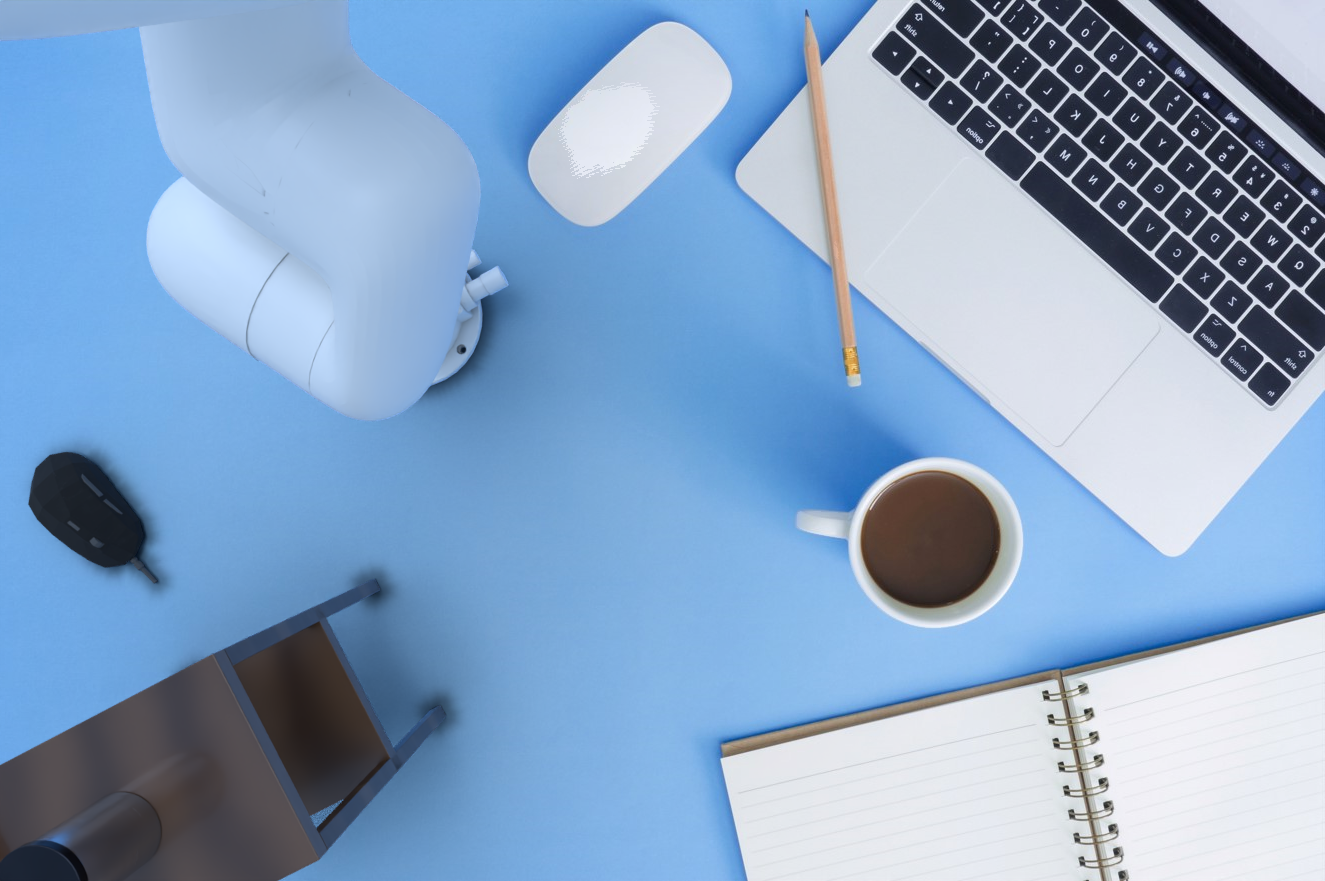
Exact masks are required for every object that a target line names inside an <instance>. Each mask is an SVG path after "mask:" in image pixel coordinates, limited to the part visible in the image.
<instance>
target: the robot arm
mask: <svg viewBox="0 0 1325 881" xmlns="http://www.w3.org/2000/svg"><path fill="white" fill-rule="evenodd" d="M135 28H138V30H139V37H140V44H141V50H142V56H143V60H144V67H145V73H146V79H147V86H148V90H149V96H150V102H151V108H152V113H153V117H154V121H155V126H156V130H157V133H158V137H159V140H160V143H161V146H162V148H163V150H164V152H165V154H166V156H167V158H168V159H169V161H170V163H171V164H172V165H173V166H174V168H175V169H176V170H177V171H178V172H179V173H180V174H181V175H182V176H181V177H179V178H178V179H176V180H175V181H174V182H173V183H171V185H169V186H168V187H167V189H165V190H164V192H163V193H162V194H161V196H160V197H159V198H158V200H157V202H156V203H155V205H154V207H153V209H152V211H151V213H150V216H149V219H148V223H147V227H146V228H147V229H146V238H145V244H146V254H147V256H148V257H147V258H148V262H149V265H150V267H151V270H152V272H153V274H154V275H155V279H157V282H158V284H160V285H161V287H162V288H163V289H164V291H165V292H166V293H167V295H168V296H169V297H170V298H171V299H172V300H173V301H174V302H175V303H176V304H177V305H178V306H180V307H181V308H182V309H183V310H185V312H187V314H189V315H191V316H192V317H193V318H195V319H196V320H198V322H200V323H202V325H204V326H206V327H207V328H209V329H210V330H211V331H213V332H214V333H216V334H217V335H218V336H220V337H222V338H223V339H225V340H226V341H228V342H229V343H231V344H232V345H233V346H236V348H238V349H239V350H240V351H242V352H244V353H245V354H247V355H248V356H249V357H251V358H253V359H254V360H255V361H258V362H260V363H261V364H263V365H265V367H267V368H269V369H270V370H272V371H274V372H275V373H276V374H278V375H279V376H280V377H282V378H283V379H285V380H286V381H288V382H290V383H291V384H292V385H294V386H296V387H297V388H299V389H300V390H301V391H303V392H304V393H306V394H307V395H308V396H310V397H311V398H313V399H315V400H316V401H318V402H320V403H321V404H323V405H324V406H326V407H327V408H330V409H331V410H333V411H335V412H336V413H338V414H339V415H342V416H344V417H346V418H349V419H351V420H352V419H353V420H356V421H361V422H379V421H384V420H388V419H391V418H394V417H396V416H398V415H400V414H402V413H403V412H405V411H407V410H408V409H409V408H411V407H412V406H413V405H415V404H416V403H417V402H418V401H419V400H420V399H421V398H422V397H423V396H424V395H425V394H426V392H427V391H428V389H429V388H430V387H431V386H434V385H436V384H439V383H441V382H444V381H447V380H448V379H449V378H451V377H452V376H453V375H456V373H458V372H459V371H460V370H461V369H462V368H463V367H464V366H465V365H466V364H467V362H468V361H469V359H470V358H471V356H472V355H473V353H474V352H475V349H476V347H477V346H478V343H479V340H480V337H481V333H482V329H483V328H482V327H483V307H482V301H481V300H482V299H484V298H486V297H488V296H493V295H495V294H496V293H498V292H500V291H502V290H504V289H505V288H507V287H510V284H509V281H508V279H507V277H506V275H505V274H504V272H503V271H502V269H501V267H500V266H499V265H496V266H494V267H493V268H491V269H489V270H487V271H485V272H483V273H481V274H479V276H478V277H476V278H475V279H472V277H471V276H470V274H469V273H468V271H470V270H472V269H473V268H476V267H478V266H479V265H481V264H482V260H481V257H480V256H479V254H478V253H477V251H476V249H474V248H473V245H474V240H475V236H476V232H477V227H478V222H479V215H480V209H481V201H482V200H481V199H482V186H481V178H480V174H479V170H478V166H477V163H476V160H475V158H474V156H473V154H472V151H471V150H470V148H469V146H468V145H467V143H466V142H465V140H464V139H463V138H462V137H461V136H460V134H458V132H457V131H456V130H454V129H453V127H451V125H449V124H448V123H447V122H446V121H444V120H443V119H442V118H441V117H440V116H438V115H437V114H435V113H434V112H433V111H431V110H429V109H428V108H427V107H426V106H424V105H423V104H422V103H419V102H418V101H417V100H415V99H413V98H412V97H411V96H410V95H407V94H406V93H405V92H404V91H402V90H400V89H399V88H398V87H396V86H395V85H393V84H392V83H390V82H388V81H387V80H386V79H384V78H383V77H381V76H380V75H378V74H377V73H376V72H375V71H374V70H372V68H370V66H368V65H367V63H365V61H364V60H363V59H362V58H361V57H360V55H359V54H358V53H357V51H356V50H355V48H354V45H353V42H352V36H351V28H350V0H0V42H20V41H34V40H35V41H36V40H37V41H38V40H48V39H59V38H67V37H75V36H83V35H91V34H92V35H93V34H98V33H99V34H100V33H107V32H114V31H121V30H122V31H123V30H128V29H135ZM464 348H465V351H464V352H463V351H462V350H463V349H464Z"/></svg>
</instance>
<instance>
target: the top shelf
mask: <svg viewBox="0 0 1325 881" xmlns="http://www.w3.org/2000/svg"><path fill="white" fill-rule="evenodd" d="M117 792H126V793H132V794H135V795H137V796H139V797H141V798H143V799H144V800H146V801H147V802H148V803H149V804H150V805H151V806H152V807H153V809H154V810H155V812H156V814H157V816H158V818H159V821H160V826H161V839H160V843H159V846H158V849H157V851H156V853H155V854H154V855H153V857H152V858H151V859H150V860H149V861H148V862H147V863H146V864H144V865H143V866H142V867H140V868H139V869H138V870H137V871H135V872H134V873H133V874H132V875H130V876H129V877H128V878H126V879H125V880H124V881H280V880H282V879H284V878H287V877H289V876H291V875H293V874H295V873H297V872H299V871H301V870H302V869H305V868H306V867H309V866H311V865H313V864H315V863H317V862H318V861H320V860H321V859H322V858H323V857H324V856H325V854H326V853H327V852H328V850H327V848H326V846H325V844H324V843H323V841H322V839H321V837H320V835H319V833H318V831H317V829H316V828H317V826H316V825H315V823H314V822H313V819H312V816H310V815H309V814H308V812H307V810H306V808H305V806H304V804H303V802H302V800H301V798H300V796H299V794H298V792H297V790H296V788H295V786H294V784H293V783H292V781H291V779H290V777H289V775H288V773H287V771H286V769H285V767H284V765H283V763H282V761H281V759H280V757H279V755H278V753H277V752H276V750H275V748H274V746H273V744H272V742H271V740H270V738H269V736H268V734H267V732H266V730H265V728H264V726H263V724H262V722H261V721H260V719H259V717H258V715H257V713H256V711H255V709H254V707H253V705H252V703H251V701H250V699H249V697H248V695H247V693H246V692H245V690H244V688H243V686H242V684H241V682H240V680H239V678H238V676H237V674H236V672H235V670H234V668H233V666H232V664H231V662H230V661H229V659H228V657H227V655H226V653H225V651H224V648H222V649H220V650H218V651H215V652H214V653H211V654H210V655H207V656H206V657H204V658H202V659H200V660H198V661H196V662H194V663H192V664H191V665H188V666H187V667H184V668H183V669H180V670H179V671H176V672H174V673H173V674H171V675H169V676H167V677H166V678H163V679H162V680H160V681H158V682H156V683H154V684H152V685H150V686H148V687H146V688H145V689H142V690H140V691H139V692H137V693H135V694H132V695H131V696H129V697H127V698H125V699H124V700H121V701H119V702H118V703H116V704H114V705H112V706H110V707H108V708H106V709H104V710H102V711H100V712H98V713H96V714H95V715H93V716H91V717H89V718H87V719H85V720H83V721H81V722H79V723H77V724H76V725H73V726H72V727H69V728H67V729H66V730H64V731H62V732H60V733H59V734H56V735H54V736H52V737H51V738H49V739H46V740H45V741H43V742H41V743H39V744H37V745H35V746H33V747H32V748H30V749H28V750H25V751H24V752H22V753H20V754H18V755H15V756H14V757H13V758H11V759H9V760H7V761H5V762H2V763H1V764H0V862H1V860H2V859H3V858H4V857H5V856H6V855H8V854H9V853H10V852H12V851H13V850H15V849H16V848H18V847H20V846H21V845H23V844H26V843H28V842H31V841H33V840H35V839H36V838H38V837H39V836H41V835H43V834H44V833H46V832H47V831H49V830H51V829H52V828H54V827H56V826H57V825H59V824H60V823H62V822H64V821H65V820H67V819H68V818H70V817H72V816H73V815H75V814H77V813H78V812H80V811H81V810H83V809H85V808H86V807H88V806H89V805H91V804H93V803H94V802H96V801H98V800H99V799H101V798H102V797H104V796H106V795H109V794H112V793H117Z"/></svg>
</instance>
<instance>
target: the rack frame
mask: <svg viewBox="0 0 1325 881" xmlns="http://www.w3.org/2000/svg"><path fill="white" fill-rule="evenodd" d="M380 591H381V587H380V586H379V584H378V582H377V580H376V578H372V579H369V580H368V581H366V582H363V583H362V584H359V585H357V586H355V587H353V588H351V589H349V590H347V591H344V592H342V593H340V594H337V595H336V596H333V597H331V598H329V599H327V600H324V601H323V602H321V603H318V604H317V605H314V606H312V607H310V608H307V609H305V610H304V611H301V612H299V613H297V614H295V615H292V616H290V617H288V618H286V619H284V620H282V621H280V622H277V623H276V624H273V625H271V626H270V627H267V628H265V629H262V630H261V631H259V632H256V633H254V634H252V635H250V636H247V637H245V638H243V639H241V640H239V641H237V642H235V643H232V644H230V645H228V646H226V647H224V648H223V649H224V651H225V653H226V655H227V657H228V659H229V661H230V662H231V664H232V666H233V668H234V670H235V672H236V674H237V676H238V678H239V680H240V682H241V684H242V686H243V688H244V690H245V692H246V693H247V695H248V697H249V699H250V701H251V703H252V705H253V707H254V709H255V711H256V713H257V715H258V717H259V719H260V721H261V722H262V724H263V726H264V728H265V730H266V732H267V734H268V736H269V738H270V740H271V742H272V744H273V746H274V748H275V750H276V752H277V753H278V755H279V757H280V759H281V761H282V763H283V765H284V767H285V769H286V771H287V773H288V775H289V777H290V779H291V781H292V783H293V784H294V786H295V788H296V790H297V792H298V794H299V796H300V798H301V800H302V802H303V804H304V806H305V808H306V810H307V812H308V814H309V815H310V817H312V816H313V815H316V814H318V813H319V812H322V811H324V810H325V809H327V808H329V807H332V806H333V805H336V804H338V803H339V804H338V805H336V807H335V808H334V809H333V810H332V811H331V812H330V813H329V814H328V815H327V816H326V817H325V818H324V819H323V821H322V822H320V823H319V824H318V826H316V829H317V831H318V833H319V835H320V837H321V839H322V841H323V843H324V844H325V846H326V848H327V851H329V849H330V848H331V847H332V846H333V845H334V844H335V843H336V842H337V840H339V838H340V837H341V836H342V835H343V834H344V833H345V832H346V830H348V828H349V827H350V826H351V825H352V824H353V823H354V822H355V820H356V819H357V818H358V817H359V816H360V815H361V814H362V812H363V811H364V810H365V809H366V808H367V807H368V805H369V804H370V803H371V802H372V801H373V800H374V799H375V798H376V797H377V795H378V794H379V793H380V792H381V791H382V790H383V789H384V788H385V786H386V785H387V784H388V783H389V782H390V781H391V780H392V779H393V777H394V776H395V775H396V774H397V773H398V772H399V771H400V770H401V768H403V766H404V765H405V764H406V763H407V762H408V761H409V759H411V757H412V756H413V755H414V754H415V753H416V752H417V750H418V749H419V748H420V747H421V746H422V744H424V742H425V741H426V740H427V739H428V738H429V737H430V736H431V735H432V734H433V732H434V731H435V730H436V729H437V728H438V727H439V726H440V724H442V722H443V721H444V720H445V719H446V718H447V715H446V713H445V710H444V709H443V707H442V705H440V704H439V705H437V706H436V707H433V708H431V709H430V710H428V711H427V712H426V713H425V715H423V717H422V718H421V719H420V720H419V721H418V722H417V723H416V724H415V725H414V726H413V727H412V728H411V729H410V730H409V731H408V732H407V733H406V734H405V735H404V736H403V737H402V738H401V740H399V741H398V743H397V744H396V745H394V746H393V744H392V742H391V740H390V738H389V737H388V734H387V733H386V730H385V729H384V726H383V725H382V722H381V721H380V719H379V717H378V715H377V713H376V711H375V709H374V707H373V706H372V703H371V701H370V700H369V698H368V696H367V694H366V692H365V690H364V688H363V686H362V684H361V681H360V680H359V678H358V676H357V674H356V673H355V671H354V669H353V667H352V664H351V663H350V661H349V659H348V657H347V655H346V653H345V652H344V649H343V648H342V647H343V646H342V645H341V644H340V642H339V640H338V637H337V636H336V633H335V632H334V630H333V628H332V626H331V624H330V622H329V620H328V618H329V617H331V616H334V615H335V614H337V613H339V612H341V611H344V610H345V609H347V608H349V607H351V606H353V605H355V604H357V603H359V602H360V601H363V600H365V599H366V598H369V597H371V596H373V594H376V593H379V592H380Z"/></svg>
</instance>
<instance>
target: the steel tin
mask: <svg viewBox="0 0 1325 881" xmlns="http://www.w3.org/2000/svg"><path fill="white" fill-rule="evenodd" d="M160 839H161V826H160V821H159V818H158V816H157V814H156V812H155V810H154V809H153V807H152V806H151V805H150V804H149V803H148V802H147V801H146V800H144V799H143V798H141V797H139V796H137V795H135V794H132V793H126V792H117V793H112V794H109V795H106V796H104V797H102V798H101V799H99V800H98V801H96V802H94V803H93V804H91V805H89V806H88V807H86V808H85V809H83V810H81V811H80V812H78V813H77V814H75V815H73V816H72V817H70V818H68V819H67V820H65V821H64V822H62V823H60V824H59V825H57V826H56V827H54V828H52V829H51V830H49V831H47V832H46V833H44V834H43V835H41V836H39V837H38V838H36V839H35V840H33V841H31V842H28V843H26V844H23V845H21V846H20V847H18V848H16V849H15V850H13V851H12V852H10V853H9V854H8V855H6V856H5V857H4V858H3V859H2V860H1V862H0V881H124V880H125V879H126V878H128V877H129V876H130V875H132V874H133V873H134V872H135V871H137V870H138V869H139V868H140V867H142V866H143V865H144V864H146V863H147V862H148V861H149V860H150V859H151V858H152V857H153V855H154V854H155V853H156V851H157V849H158V846H159V843H160Z"/></svg>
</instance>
